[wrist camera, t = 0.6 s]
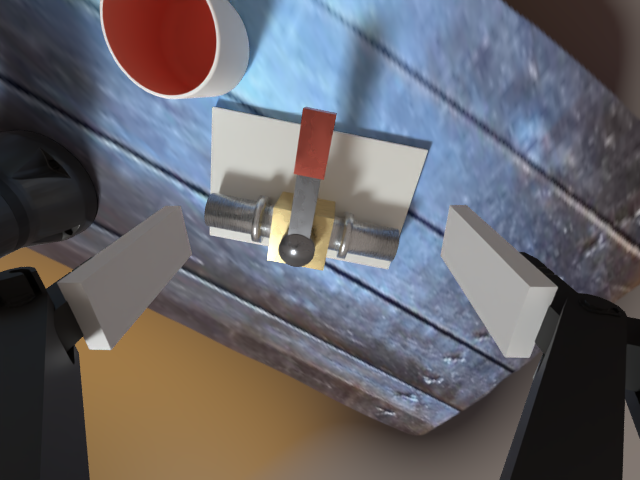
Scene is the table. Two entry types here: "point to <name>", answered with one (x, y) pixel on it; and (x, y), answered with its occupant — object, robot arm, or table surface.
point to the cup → (177, 45)
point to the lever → (307, 185)
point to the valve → (325, 230)
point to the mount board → (338, 185)
